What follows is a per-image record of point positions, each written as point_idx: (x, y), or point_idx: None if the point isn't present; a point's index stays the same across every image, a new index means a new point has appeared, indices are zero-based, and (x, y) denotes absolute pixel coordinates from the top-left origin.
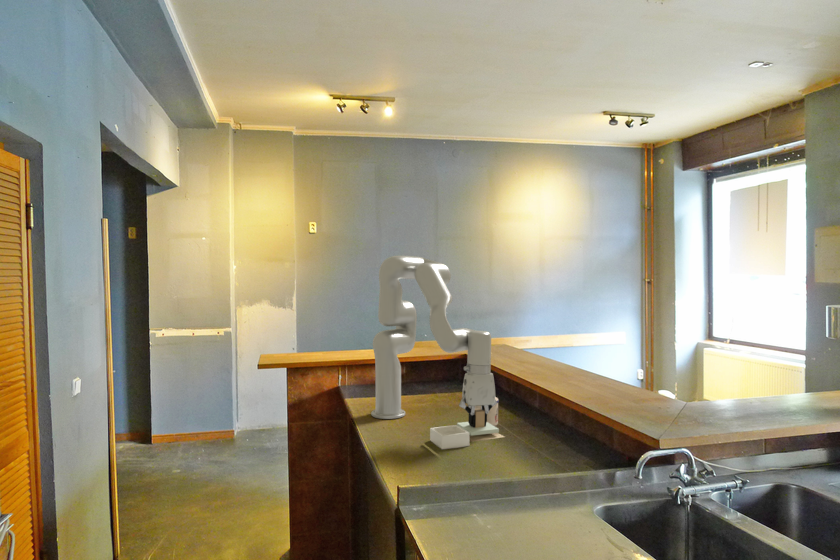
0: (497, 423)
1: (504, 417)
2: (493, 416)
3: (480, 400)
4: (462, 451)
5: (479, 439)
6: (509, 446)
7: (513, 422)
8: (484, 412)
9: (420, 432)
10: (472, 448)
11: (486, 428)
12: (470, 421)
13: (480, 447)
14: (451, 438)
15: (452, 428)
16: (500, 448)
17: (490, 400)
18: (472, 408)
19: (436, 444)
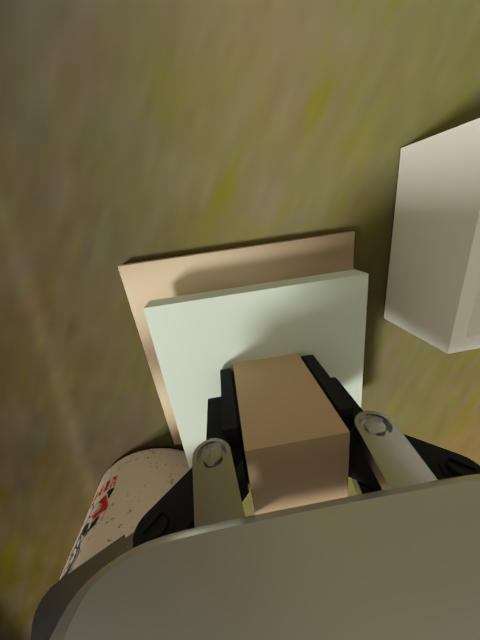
0: (104, 477)
1: (45, 557)
2: (117, 507)
3: (444, 610)
4: (474, 87)
5: (294, 257)
6: (135, 91)
7: (11, 503)
8: (246, 439)
9: (463, 425)
10: (389, 131)
11: (232, 328)
12: (341, 388)
13: (335, 136)
14: None
15: (470, 326)
16: (216, 63)
17: (165, 637)
18: (415, 468)
19: None
